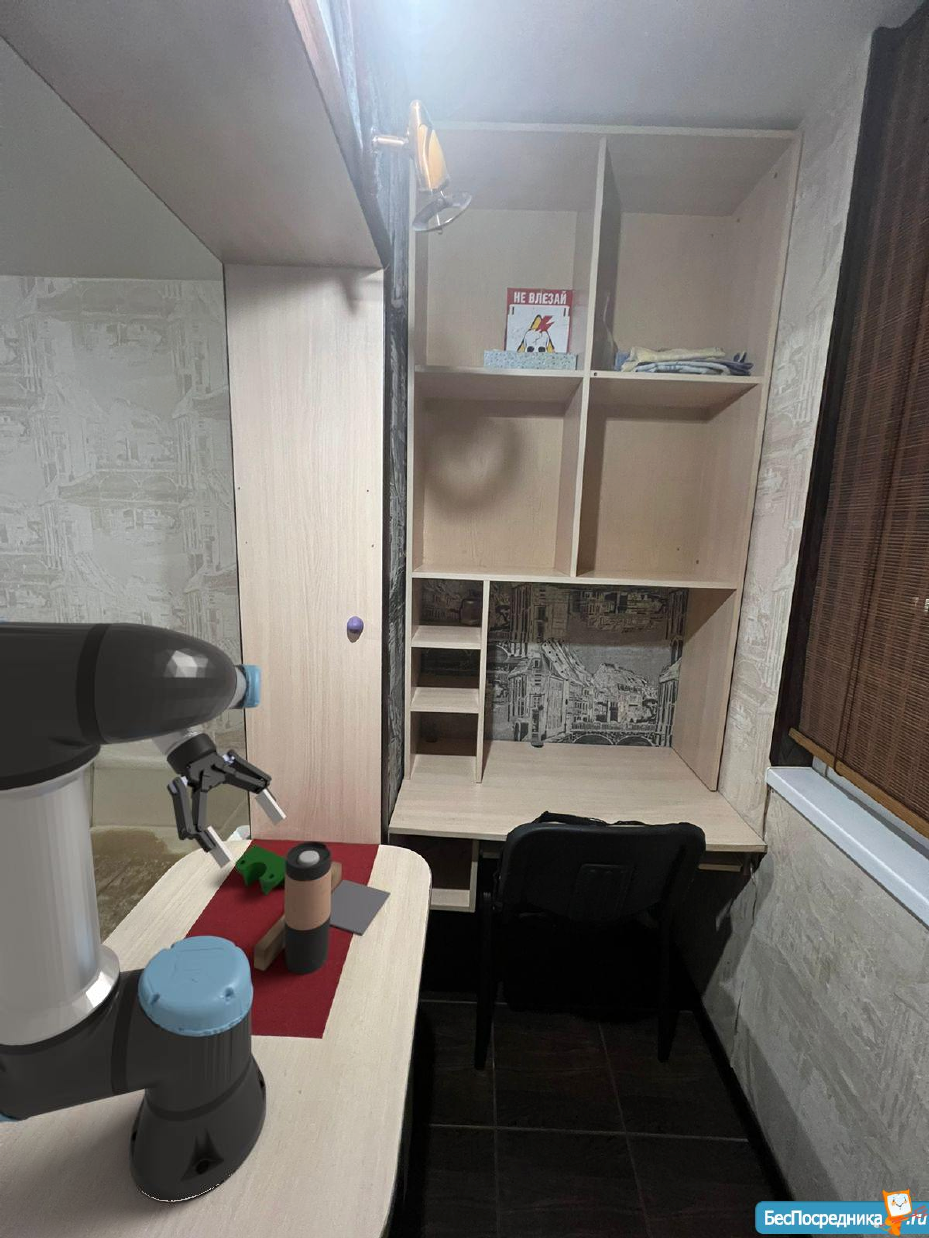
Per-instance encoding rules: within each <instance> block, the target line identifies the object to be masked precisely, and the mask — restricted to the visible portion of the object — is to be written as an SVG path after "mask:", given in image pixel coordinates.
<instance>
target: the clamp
mask: <svg viewBox="0 0 929 1238" xmlns="http://www.w3.org/2000/svg"><path fill="white" fill-rule="evenodd" d="M285 860H286V857H283V856H281V855H279V854H277V853H275V852H272V851H270V850H268V849H266V848H264V847H261V846H259V845H258V844H257V845H256V844H254V845H252V847H250V848H249V849H248V850H247V851H246V852H245V853H244V854H242V856H240V857H239V858H238V859H237V860H236V861H235V864H234V867H235V870H236V872H237V873H238V874H241V875H243V879H244V883H245V886H246V887H249V886H250V885H251V884H252V883H254V882H255V881H257V880H259V883H260V886H261V891H262V893H263V895H264V896H267V895H268V894H269V893H270V892H271V891H272V890H273V889H274V888H275V887H276V886H277V885H281V886H283V887H285Z"/></svg>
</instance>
